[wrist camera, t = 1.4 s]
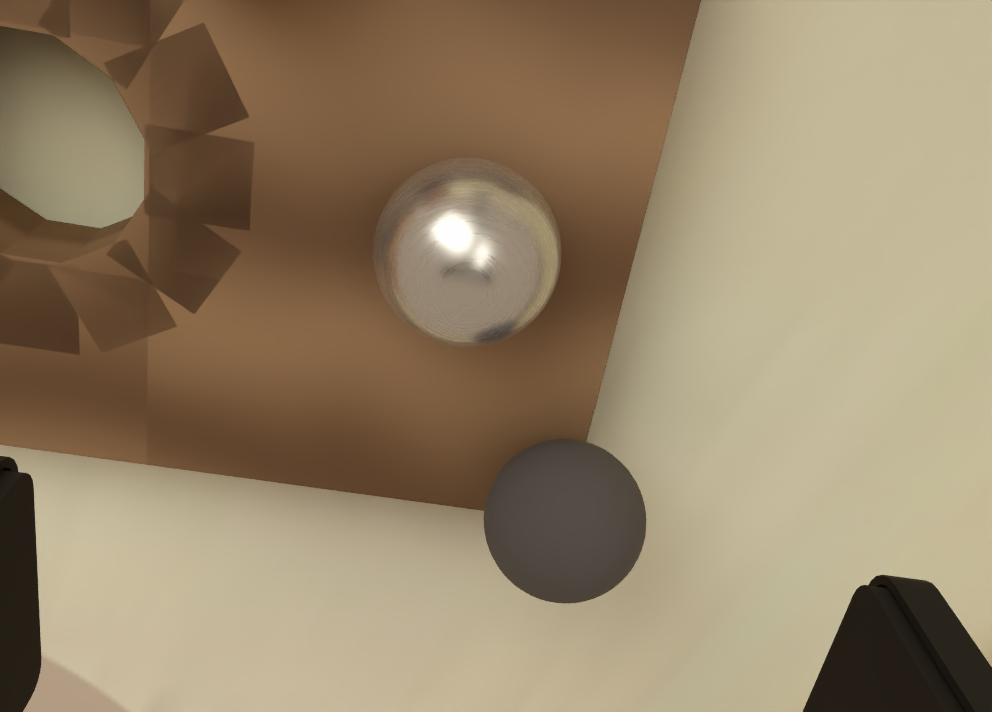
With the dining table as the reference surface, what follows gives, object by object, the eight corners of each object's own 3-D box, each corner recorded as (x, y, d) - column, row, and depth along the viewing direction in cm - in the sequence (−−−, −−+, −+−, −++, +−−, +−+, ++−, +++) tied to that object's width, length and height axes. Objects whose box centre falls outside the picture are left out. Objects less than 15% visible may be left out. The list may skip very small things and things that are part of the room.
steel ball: (394, 123, 20) (375, 172, 17) (571, 153, 21) (589, 208, 17) (373, 288, 22) (351, 364, 18) (536, 314, 22) (546, 394, 19)
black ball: (497, 399, 23) (501, 490, 20) (649, 421, 24) (679, 514, 20) (472, 523, 25) (471, 628, 22) (613, 543, 26) (635, 648, 22)
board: (-193, -307, 19) (-286, -336, 16) (705, -123, 20) (733, -125, 18) (-104, 377, 26) (-160, 422, 23) (558, 470, 27) (565, 521, 25)
